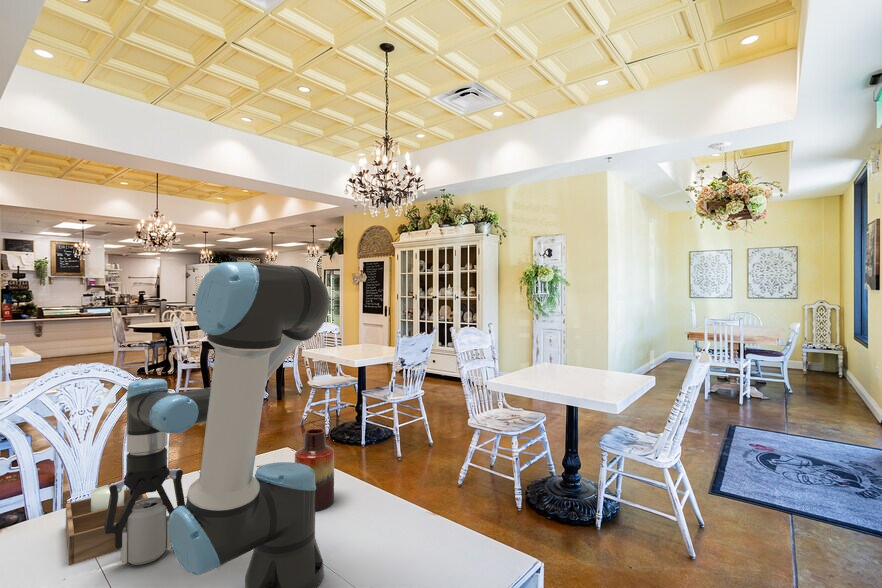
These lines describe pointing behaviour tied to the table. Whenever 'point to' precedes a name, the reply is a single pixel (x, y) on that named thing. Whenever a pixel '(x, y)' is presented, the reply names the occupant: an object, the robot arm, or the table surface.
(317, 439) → the vase
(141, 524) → the can
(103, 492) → the pale curved piece
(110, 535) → the rack
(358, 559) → the table surface
